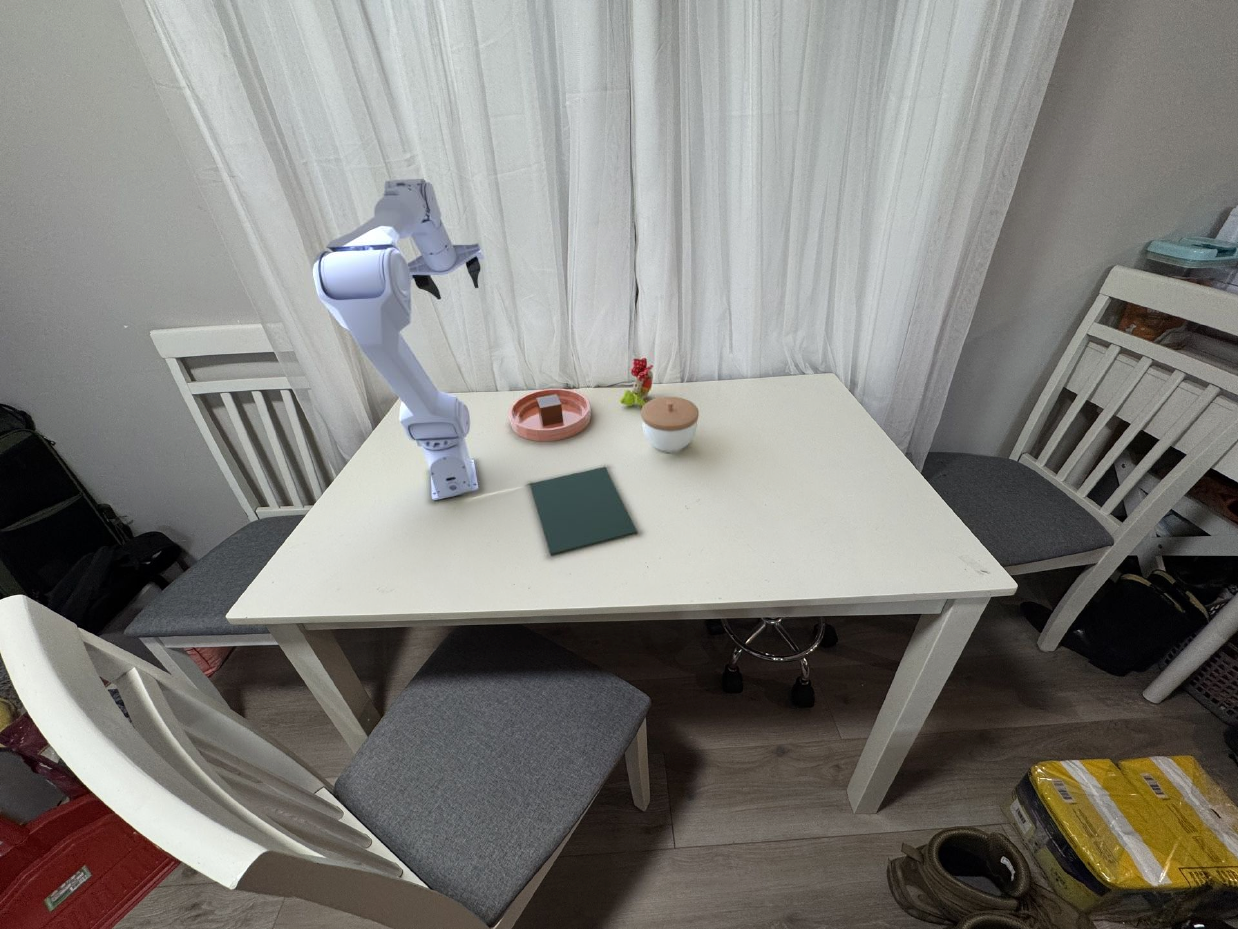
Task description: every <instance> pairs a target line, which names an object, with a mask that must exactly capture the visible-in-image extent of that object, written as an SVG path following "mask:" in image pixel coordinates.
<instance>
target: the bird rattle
mask: <svg viewBox="0 0 1238 929" xmlns="http://www.w3.org/2000/svg"><path fill="white" fill-rule="evenodd" d="M632 363H633V364H632V366H633V367H632V368H631V369H630V373H631V376H633V377H635V380H634V383H633V386H632V390H629V389H626V390H625V391H624V394H623V396H622V397H621V398H620V400H619V402H620V404H623V405H624V406H627V407H633V406H634V405H635V404H637V405H639V406H640V407H641V408H642V407H643V406H644V405H645V404H646V403H647V402H646V401H645V400H646V399H647V398H648V395H649V392H650V391H651V389H652V385H653V379H654V374H653V372H652V370H651V369H652V368H653V367H654V365H653V364H650V365H649V366H648V359H647V358H646V357H643V358H641V359H639V358H633V359H632Z"/></svg>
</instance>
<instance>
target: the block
mask: <svg viewBox="0 0 1238 929" xmlns="http://www.w3.org/2000/svg"><path fill="white" fill-rule="evenodd" d="M536 399H537V406H538V412H539V417H540V420H541V422H542V425H543V426H546V425H551V424H556V423H561V422H563V414H562V406H561V402H560V400H559V398H558V396H557V394H555V395H550V396H545V397H539V398H536Z"/></svg>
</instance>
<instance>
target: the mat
mask: <svg viewBox="0 0 1238 929" xmlns="http://www.w3.org/2000/svg"><path fill="white" fill-rule="evenodd" d="M530 488H531V492H532V496H533V498H534V499H533V500H534V502H535V506H536V509H537V513H538V516H539V519H540V523H541V526H542V530H543V533H544V537H545V540H546V544H547V547H548V552H549V554H550V556H554V555H558V554H561V553H565V552H569V551H574V550H577V549H581V548H585V547H589V546H593V545H597V544H600V543H604V542H609V541H613V540H616V539H620V538H624V537H628V536H631V535H635V534H638V530H637V529H636V527H635V525H634V523H633V521H632V519H631V517H630V514H629V512H628V510H627V508H626V507H625V505H624V503H623V500H622V499H621V497H620V495H619V493H618V490H617V488H616V487H615V485H614V482H613V480H612V478H611V476H610V475H609V472H608V470H607V468H606V467H605V466H604V467H599V468H594V469H591V470H586V471H580V472H577V473H572V474H568V475H562V476H559V477H554V478H549V479H544V480H541V481H536V482H532V483H530Z"/></svg>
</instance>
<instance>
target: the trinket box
mask: <svg viewBox="0 0 1238 929" xmlns="http://www.w3.org/2000/svg"><path fill="white" fill-rule="evenodd" d="M640 410H641V412H640V416H641V426H642V432H643V434H644V438H645V439H646V441H647V442H648V443H649V444H650V445H651V446H652V447H653V448H655V449H657V450H658V451H661V452H663V453H667V454H676V453H680V452H681V451H683V449H685V448H686V447H687V446H688V445H690V443H691V442H692V440H693V439H694V437H695V435H696V432H697V428H698V421H699V409H698V407H697V405H696V404H695V403H694V402H692V401H690V400H688V399H685V398H682V397H678V396H660V397H656V398H654V399H653V398H652V399H651V400H649V401H648V402H646V404H645V405H644V406H643V407H642V406H641V409H640Z"/></svg>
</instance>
